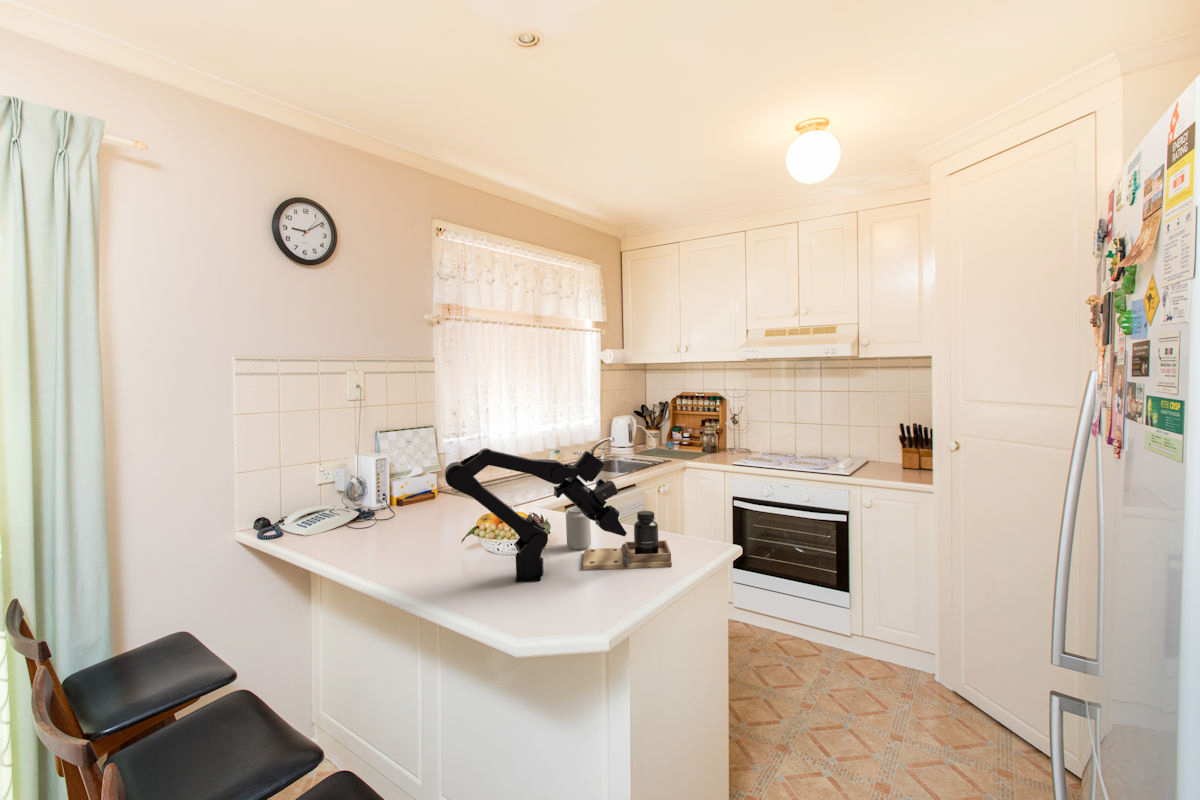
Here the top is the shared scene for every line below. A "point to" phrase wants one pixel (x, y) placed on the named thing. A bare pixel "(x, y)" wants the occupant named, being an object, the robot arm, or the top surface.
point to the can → (577, 529)
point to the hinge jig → (626, 557)
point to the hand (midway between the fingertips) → (619, 530)
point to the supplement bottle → (645, 533)
